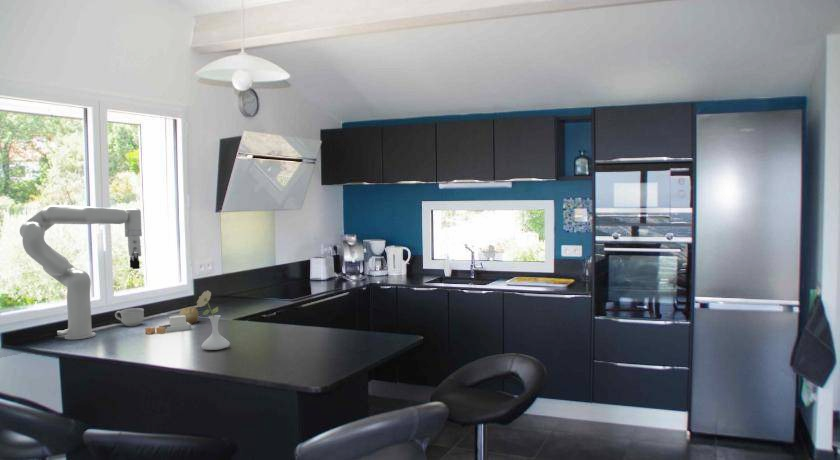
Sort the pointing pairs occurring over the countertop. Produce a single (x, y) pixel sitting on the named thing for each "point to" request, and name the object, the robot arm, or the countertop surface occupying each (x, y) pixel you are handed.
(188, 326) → the holder
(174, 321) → the connector
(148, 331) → the clip
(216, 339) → the flower in vase
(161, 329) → the clip
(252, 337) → the countertop surface
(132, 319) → the teacup
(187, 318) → the bread roll
